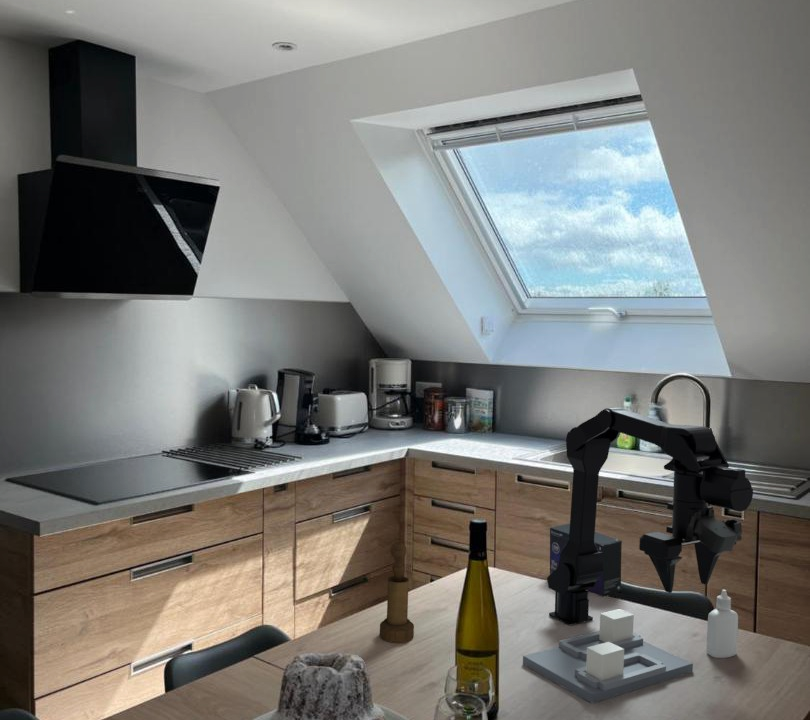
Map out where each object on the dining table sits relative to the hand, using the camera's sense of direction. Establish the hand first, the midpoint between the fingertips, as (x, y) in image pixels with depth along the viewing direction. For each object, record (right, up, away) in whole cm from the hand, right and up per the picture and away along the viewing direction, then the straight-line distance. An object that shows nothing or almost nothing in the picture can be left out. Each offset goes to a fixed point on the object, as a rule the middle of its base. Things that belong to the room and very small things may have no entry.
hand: (686, 588), depth 145 cm
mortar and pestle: (-51, -13, +14) cm, 54 cm away
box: (-8, -12, +47) cm, 49 cm away
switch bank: (-14, -14, +1) cm, 20 cm away
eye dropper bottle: (+9, -15, +8) cm, 19 cm away
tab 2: (-16, -13, -6) cm, 22 cm away
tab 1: (-10, -12, +10) cm, 19 cm away
